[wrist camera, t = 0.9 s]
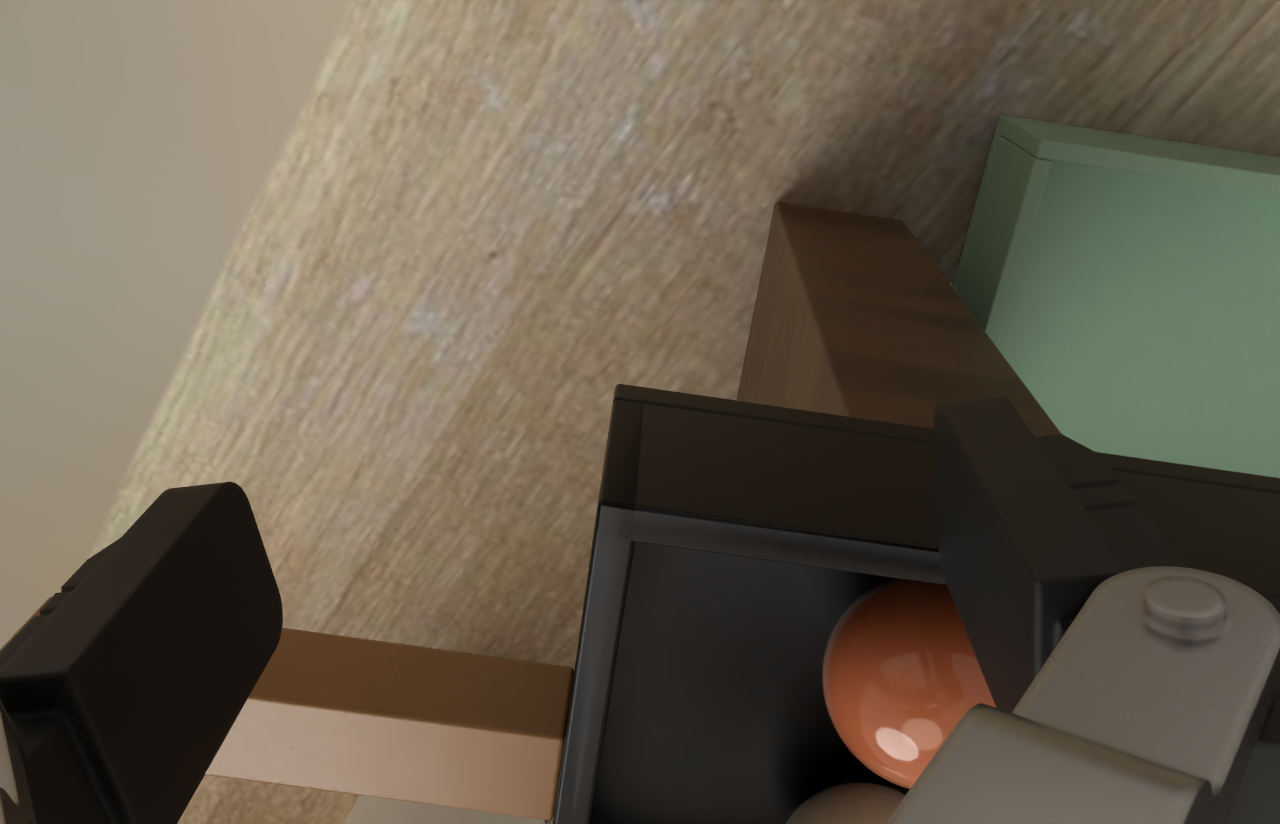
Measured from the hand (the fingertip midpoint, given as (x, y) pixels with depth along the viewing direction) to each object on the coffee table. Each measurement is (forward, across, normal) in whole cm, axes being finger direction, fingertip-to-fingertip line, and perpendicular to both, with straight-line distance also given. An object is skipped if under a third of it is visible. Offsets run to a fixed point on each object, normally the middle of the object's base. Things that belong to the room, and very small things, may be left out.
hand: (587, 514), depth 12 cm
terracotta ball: (+2, -4, +4) cm, 6 cm away
